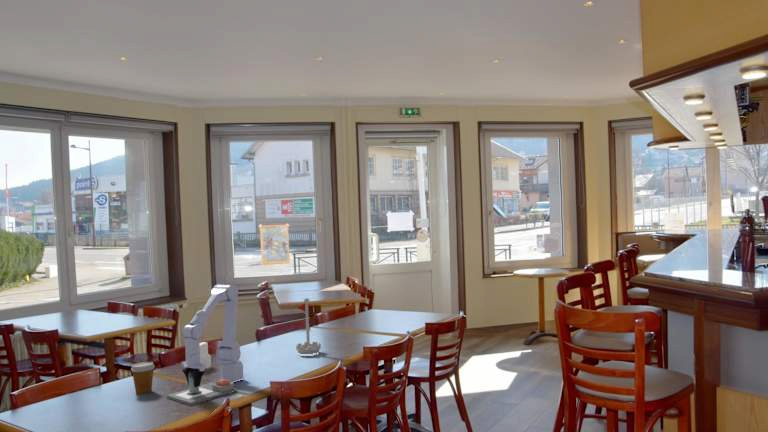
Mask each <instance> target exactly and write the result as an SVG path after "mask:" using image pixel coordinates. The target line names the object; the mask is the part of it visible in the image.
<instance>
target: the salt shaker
mask: <svg viewBox="0 0 768 432" xmlns="http://www.w3.org/2000/svg"><path fill="white" fill-rule="evenodd" d="M188 377H189V385H188V389H189V392H197V391H199V387H194V382H193V377H192V374H191V372H190V371H189V372H188Z"/></svg>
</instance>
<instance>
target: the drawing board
mask: <svg viewBox="0 0 768 432" xmlns="http://www.w3.org/2000/svg"><path fill="white" fill-rule="evenodd" d="M237 389H238V388H236V387H235V383H230V384H229V385H225V386H222V387H221V386H217V385H216V382H214V381H211V382H208V383H205V384H200V386H199V391H197V392H189V388H187V389H183V390H181V391H176V392H173V393H169V394H167V395H166V398H167V399H168V400H172V401H174V400H175V402H178V403H181V404H185V405H187V406H190V407H191V406H195V405H197V403H198V404H201V403H204V402H207V401H206V400H208V401H210V400H209V399H211V400H213V399H212V398H214V399H216V398H215V397H217V398H220V397H223V396H222V395H224V396H226V395H225V394H227V393H230V392H232V391H235V390H237ZM237 391H238V390H237ZM230 394H231V393H230ZM227 395H228V394H227ZM219 396H220V397H219ZM203 401H204V402H203ZM200 402H201V403H200Z"/></svg>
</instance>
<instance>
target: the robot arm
mask: <svg viewBox="0 0 768 432" xmlns="http://www.w3.org/2000/svg"><path fill="white" fill-rule="evenodd" d="M210 292H211V295H210V296H209V298H208V300H207V302H206V303H205V305H204V306H203V307H202V309H201V310H200V309H199V310H197V311H196V312H195V315H194V316H193V317H192V319H191V321H190V322H189V323H188V324H187V325H186V324H185V325H184V326H183V328H182V331H181V332H180V334H181V337H182V338H183V342H184V345H185V347H184V348H185V350H184V351H185V361H181V367H182V373H183V374H184V376H185V379H186V381H187V385H188V386H189V377H188V372H189V371H190V372H191V374H192V377H193V382H194V387H199V386H200V385H201V381H202V377H203V376H204V373H205V371H206V370H205V366H204V365H203V364H201V363H200V343H201V342H200V338H201V336H203V331H204V327H205V326H206V324H207V322H208V321H209V319H210V314H211V313H212V312H213V310H214V309H215V308H216V307H217V305H218V304H219V303H220V302H222V304H223V305H224V317H223V320H224V321H223V332H222V341H220V342H219V343H218V346H217V349H216V353H215V357H216V359H217V360H218V363H220V380H222V379H226V380H229V381H230V382H233V381H236V380H239V379H242V378H243V379H244V365H243V363H242V361H241V360H240V358H241V354H242V353H241V348H240V347H241V346H240V344H239V343H238V341H237V340H236V333H237V331H236V330H237V320H238V319H237V317H238V303H239V302H238V301H239V297H238V296H239V288H238V287H237V286H236V285H235V284H219V283H217V284H215V285H214V286H213V288H212V289H211V291H210Z"/></svg>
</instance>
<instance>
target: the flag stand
mask: <svg viewBox="0 0 768 432" xmlns="http://www.w3.org/2000/svg"><path fill="white" fill-rule="evenodd" d="M303 303H304V304H301V305H299V306H298V307H297V309H298V310H301V311H302V312H304V313H305V328H306V329H305V331H306V341H304V342H303V344H302V343H301V342H300V343H299V342H298V343H297V344H295V349H296V351H297V352H298V353H300V354H313V353H317V352H319V353H320V350H321V349H322V347H321V346H322V343H321V342H318V341H312V343H310V341H311V340H310V321H309V319H310V318H309V303H310V299H309V298H308V297H305V298H304V299H303ZM298 353H297V354H298Z"/></svg>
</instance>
